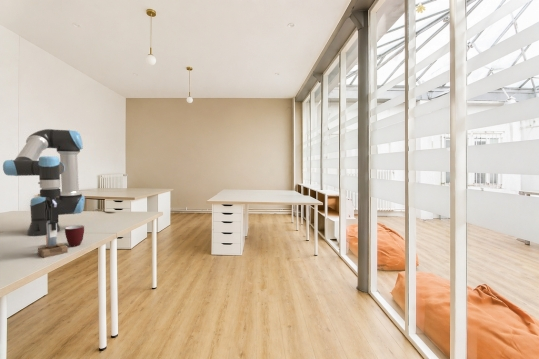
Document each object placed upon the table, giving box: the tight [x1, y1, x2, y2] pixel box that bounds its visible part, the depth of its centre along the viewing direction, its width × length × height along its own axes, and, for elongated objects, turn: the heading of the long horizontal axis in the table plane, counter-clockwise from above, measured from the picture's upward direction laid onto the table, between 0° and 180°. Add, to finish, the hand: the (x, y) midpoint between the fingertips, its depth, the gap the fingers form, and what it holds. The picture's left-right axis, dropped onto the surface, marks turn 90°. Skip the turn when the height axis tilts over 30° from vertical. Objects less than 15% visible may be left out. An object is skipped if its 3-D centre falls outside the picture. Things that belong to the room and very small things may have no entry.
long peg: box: [47, 220, 58, 246], centre depth 122 cm, size 3×3×12 cm
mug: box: [64, 224, 85, 247], centre depth 135 cm, size 10×8×10 cm
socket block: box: [37, 242, 69, 258], centre depth 122 cm, size 9×9×3 cm
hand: (52, 236), depth 122 cm, fingers closed on long peg, 3 cm apart
